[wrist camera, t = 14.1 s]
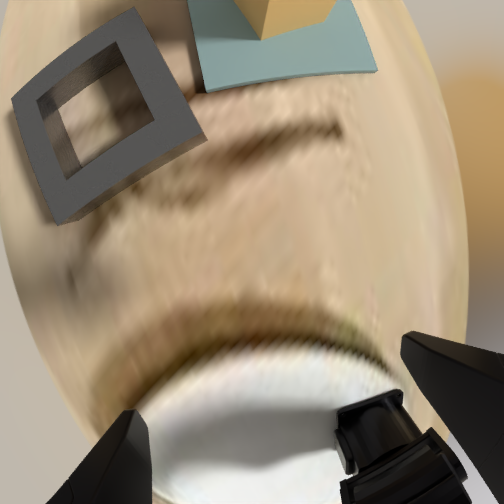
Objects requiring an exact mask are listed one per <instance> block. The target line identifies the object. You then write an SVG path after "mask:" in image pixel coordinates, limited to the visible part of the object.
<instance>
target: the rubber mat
mask: <svg viewBox="0 0 504 504" xmlns="http://www.w3.org/2000/svg"><path fill="white" fill-rule="evenodd" d="M187 3H188V8H189V12H190V17H191V22H192V27H193V32H194V36H195V41H196V46H197V51H198V55H199V60H200V65H201V70H202V74H203V79H204V84H205V88H206V92H207V93H209V92H214V91H218V90H223V89H228V88H233V87H238V86H243V85H249V84H255V83H261V82H267V81H274V80H281V79H289V78H298V77H307V76H318V75H332V74H351V73H375V72H377V71H378V69H377V66H376V63H375V60H374V57H373V54H372V51H371V48H370V45H369V43H368V40H367V37H366V35H365V32H364V30H363V27H362V25H361V22H360V20H359V17H358V15H357V13H356V10H355V8H354V6H353V3H352V1H351V0H337V1H336V3H335V4H334V6H333V8H332V9H331V11H330V13H329V14H328V16H327V18H326V19H325V21H324V22H321V23H317V24H313V25H310V26H306V27H302V28H299V29H295V30H292V31H289V32H286V33H282V34H279V35H276V36H273V37H270V38H267V39H264V40H260V38H259V37H258V35H257V34H256V32H255V31H254V29H253V28H252V26H251V25H250V23H249V22H248V20H247V19H246V18H245V16H244V15H243V13H242V12H241V10H240V9H239V8H238V6H237V5H236V3H235V2H234V1H233V0H187Z"/></svg>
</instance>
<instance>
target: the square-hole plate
mask: <svg viewBox="0 0 504 504" xmlns="http://www.w3.org/2000/svg"><path fill="white" fill-rule="evenodd" d="M125 61H126V63H127V65H128V67H129V69H130V71H131V73H132V75H133V77H134V79H135V81H136V83H137V85H138V87H139V89H140V91H141V93H142V95H143V97H144V99H145V101H146V103H147V105H148V107H149V109H150V111H151V113H152V115H153V117H154V119H155V120H154V121H152V122H151V123H149V124H147V125H146V126H144V127H142V128H141V129H139V130H138V131H136V132H134V133H133V134H131V135H130V136H128V137H127V138H125V139H124V140H122V141H120V142H119V143H117V144H116V145H114V146H113V147H112V148H110V149H109V150H107V151H106V152H104V153H103V154H101V155H100V156H99V157H97V158H96V159H94V160H93V161H92V162H90V163H89V164H88V165H86V166H85V167H84V168H82V167H81V165H80V163H79V160H78V158H77V156H76V153H75V151H74V149H73V146H72V144H71V142H70V139H69V137H68V134H67V132H66V129H65V127H64V124H63V121H62V119H61V116H60V113H59V111H58V108H60V107H61V106H62V105H63V104H65V103H66V102H67V101H68V100H70V99H71V98H72V97H74V96H75V95H76V94H77V93H79V92H80V91H81V90H83V89H84V88H86V87H87V86H88V85H90V84H91V83H93V82H94V81H95V80H97V79H98V78H100V77H101V76H103V75H104V74H106V73H107V72H109V71H110V70H112V69H113V68H115V67H116V66H118V65H120V64H121V63H123V62H125ZM11 100H12V104H13V108H14V112H15V115H16V119H17V122H18V126H19V129H20V132H21V136H22V139H23V142H24V145H25V148H26V151H27V154H28V157H29V159H30V162H31V165H32V168H33V170H34V173H35V175H36V178H37V181H38V183H39V186H40V188H41V190H42V193H43V195H44V198H45V200H46V202H47V205H48V207H49V209H50V211H51V214H52V216H53V218H54V220H55V222H56V224H57V226H59V225H63V224H67V223H71V222H74V221H78V220H80V219H82V218H83V217H84V216H86V215H87V214H89V213H90V212H91V211H93V210H94V209H96V208H97V207H99V206H100V205H101V204H103V203H104V202H106V201H107V200H109V199H110V198H112V197H113V196H115V195H116V194H118V193H119V192H121V191H122V190H124V189H125V188H127V187H128V186H130V185H132V184H133V183H135V182H136V181H138V180H140V179H141V178H143V177H144V176H146V175H148V174H149V173H151V172H153V171H154V170H156V169H158V168H159V167H161V166H163V165H164V164H166V163H168V162H169V161H171V160H173V159H175V158H176V157H178V156H180V155H182V154H184V153H185V152H187V151H189V150H191V149H193V148H194V147H196V146H198V145H200V144H202V143H204V142H206V141H208V140H207V138H206V136H205V134H204V132H203V130H202V129H201V127H200V125H199V123H198V121H197V119H196V117H195V115H194V114H193V112H192V110H191V108H190V106H189V104H188V103H187V101H186V99H185V97H184V95H183V93H182V91H181V90H180V88H179V86H178V84H177V82H176V80H175V79H174V77H173V75H172V73H171V71H170V69H169V68H168V66H167V64H166V62H165V60H164V59H163V57H162V55H161V53H160V51H159V49H158V48H157V46H156V44H155V42H154V40H153V39H152V37H151V35H150V33H149V31H148V30H147V28H146V26H145V24H144V23H143V21H142V19H141V17H140V16H139V14H138V12H137V10H136V9H135V7H133V8H131V9H129V10H127V11H126V12H124V13H122V14H120V15H119V16H117V17H115V18H114V19H112V20H110V21H109V22H107V23H105V24H104V25H102V26H101V27H99V28H97V29H96V30H94V31H93V32H91V33H90V34H88V35H87V36H85V37H84V38H83V39H81V40H80V41H78V42H77V43H76V44H74V45H73V46H71V47H70V48H69V49H67V50H66V51H65V52H63V53H62V54H61V55H60V56H58V57H57V58H56V59H54V60H53V61H52V62H51V63H50V64H48V65H47V66H46V67H45V68H44V69H42V70H41V71H40V72H39V73H38V74H37V75H35V76H34V77H33V78H32V79H31V80H30V81H29V82H28V83H27V84H26V85H24V86H23V87H22V88H21V89H20V90H19V91H18V92H17V93H16V94H15V95H14V96H13V97H12V98H11Z"/></svg>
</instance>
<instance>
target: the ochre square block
mask: <svg viewBox="0 0 504 504" xmlns="http://www.w3.org/2000/svg"><path fill="white" fill-rule="evenodd" d="M233 1H234V2H235V3H236V5H237V6H238V8H239V9H240V10H241V12H242V13H243V15H244V16H245V18H246V19H247V20H248V22H249V23H250V25H251V26H252V28H253V29H254V31H255V32H256V34H257V35H258V37H259V38H260V40H264V39H267V38H270V37H273V36H276V35H279V34H282V33H286V32H289V31H292V30H295V29H299V28H302V27H306V26H310V25H313V24H317V23H321V22H324V21H325V19H326V18H327V16H328V14H329V13H330V11H331V9H332V8H333V6H334V4H335V3H336V1H337V0H233Z"/></svg>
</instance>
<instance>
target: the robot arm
mask: <svg viewBox="0 0 504 504" xmlns="http://www.w3.org/2000/svg"><path fill="white" fill-rule="evenodd" d="M400 355H401V358H402V360H403V362H404V364H405V365H406V367H407V369H408V370H409V372H410V374H411V376H412V377H413V379H414V381H415V382H416V384H417V386H418V387H419V389H420V391H421V392H422V393H423V395H424V396H425V397H426V399H427V400H428V401H429V403H430V404H431V406H432V407H433V408H434V410H435V411H436V412H437V414H438V415H439V416H440V418H441V419H442V421H443V422H444V423H445V425H446V426H447V427H448V429H449V430H450V432H451V433H452V434H453V436H454V437H455V439H456V440H457V441H458V443H459V444H460V446H461V447H462V449H463V450H464V451H465V453H466V454H467V456H468V457H469V459H470V460H471V461H472V463H473V464H474V466H475V468H476V469H477V470H478V472H479V474H480V475H481V477H482V478H483V480H484V481H485V483H486V484H487V486H488V487H489V489H490V490H491V492H492V494H493V495H494V497H495V498H496V500H497V501H498V503H499V504H504V354H501V353H496V352H493V351H488V350H485V349H481V348H477V347H473V346H468V345H465V344H461V343H457V342H454V341H450V340H446V339H442V338H439V337H435V336H431V335H427V334H424V333H420V332H416V331H410V332H408V333H406V334H404V335H403V336H402V341H401V351H400ZM402 403H403V392H402V390H400V389H398V390H395V391H393V392H390V393H388V394H385V395H382V396H380V397H377V398H374V399H371V400H368V401H365V402H363V403H360V404H357V405H353V406H350V407H347V408H344V409H341V410H339V411H338V412H337V429H335V431H334V437H335V447H336V449H337V452H338V455H339V457H340V460H341V463H342V465H343V468H344V471H345V473H346V474H347V475H351V474H353V476H352V477H350V478H348V479H344V480H342V481H340V487H341V489H340V494H341V500H342V504H472V501H471V499H470V497H469V495H468V493H467V492H466V490H465V488H464V486H463V484H462V482H464V481H465V480H466V479H468V477H467V473H466V471H465V469H464V467H463V465H462V464H461V462H460V460H459V459H458V457H457V456H456V454H455V453H454V452H453V451H452V449H451V448H450V447H449V446H448V445H447V444H446V443H445V441H444V440H443V439H442V438H441V437H440V436H439V435H438V434H437V432H436V431H435V430H434V429H433V428H432V427H430V428H429V429H428V430H426V432H425V433H424V434H422V432H421V431H420V430H419V428H418V427H417V425H416V424H415V423H414V421H413V420H412V418H411V417H410V415H409V414H408V413H407V411H406V410H405V408H404V407H403V406H402ZM342 414H343V415H342ZM46 504H152V464H151V454H150V444H149V433H148V427H147V425H146V423H145V421H144V420H143V418H142V417H141V415H140V414H139V412H138V411H137V410H136V409H127V410H124V411H123V412H122V413H121V414H120V415H119V417H118V418H117V419H116V420H115V421H114V423H113V424H112V425H111V426H110V428H109V429H108V430H107V431H106V432H105V434H104V435H103V436H102V437H101V439H100V440H99V441H98V442H97V444H96V445H95V446H94V447H93V448H92V450H91V451H90V452H89V453H88V455H87V456H86V457H85V458H84V459H83V461H82V462H81V463H80V464H79V466H78V467H77V468H76V470H75V471H74V472H73V473H72V474H71V475H70V477H69V479H68V480H66V481H65V483H64V484H63V485H62V486H61V488H60V489H59V490H58V491H57V492H56V493H55V494H54V495H53V497H52V498H51V499H50V500H49V501H48V502H47V503H46Z"/></svg>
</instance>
